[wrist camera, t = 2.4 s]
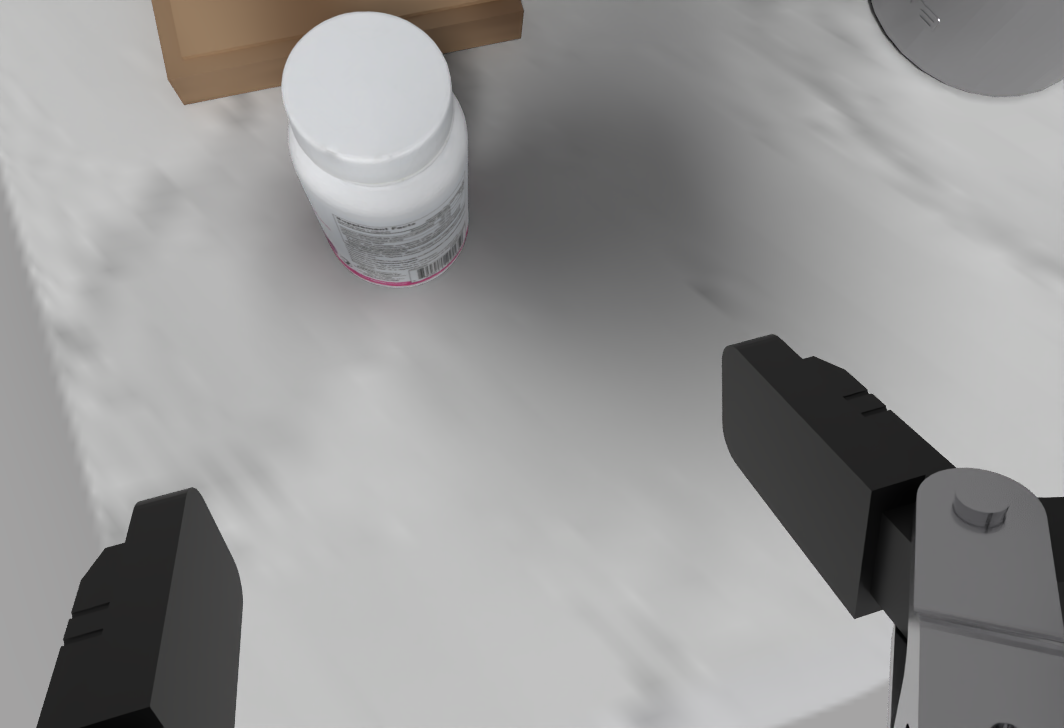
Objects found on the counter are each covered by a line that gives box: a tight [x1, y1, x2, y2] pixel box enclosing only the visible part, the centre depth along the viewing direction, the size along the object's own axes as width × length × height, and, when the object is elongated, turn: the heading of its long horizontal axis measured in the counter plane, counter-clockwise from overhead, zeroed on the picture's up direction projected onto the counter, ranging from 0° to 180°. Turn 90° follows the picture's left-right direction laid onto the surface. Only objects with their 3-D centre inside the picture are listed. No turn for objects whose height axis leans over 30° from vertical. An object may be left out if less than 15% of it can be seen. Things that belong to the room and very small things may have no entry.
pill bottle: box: [281, 11, 469, 288], centre depth 23 cm, size 5×5×8 cm
